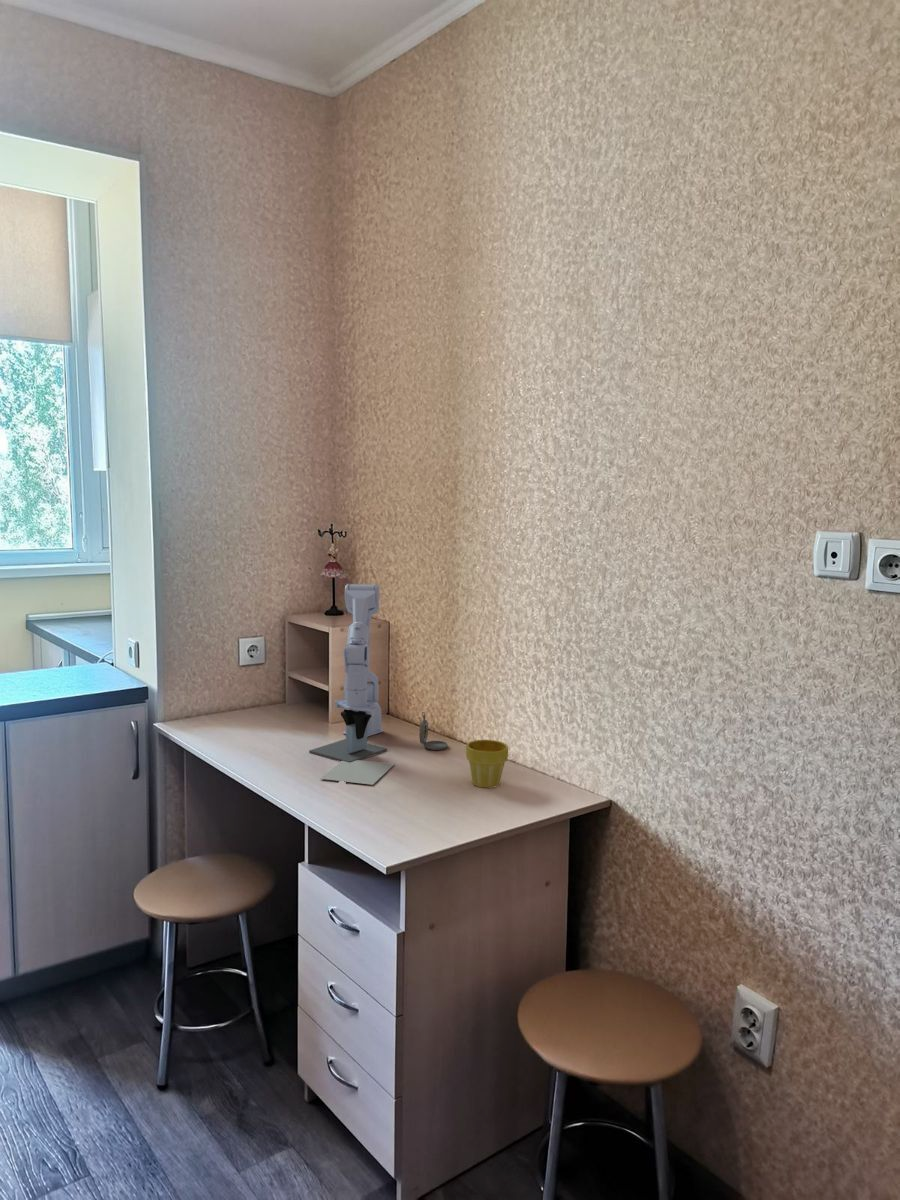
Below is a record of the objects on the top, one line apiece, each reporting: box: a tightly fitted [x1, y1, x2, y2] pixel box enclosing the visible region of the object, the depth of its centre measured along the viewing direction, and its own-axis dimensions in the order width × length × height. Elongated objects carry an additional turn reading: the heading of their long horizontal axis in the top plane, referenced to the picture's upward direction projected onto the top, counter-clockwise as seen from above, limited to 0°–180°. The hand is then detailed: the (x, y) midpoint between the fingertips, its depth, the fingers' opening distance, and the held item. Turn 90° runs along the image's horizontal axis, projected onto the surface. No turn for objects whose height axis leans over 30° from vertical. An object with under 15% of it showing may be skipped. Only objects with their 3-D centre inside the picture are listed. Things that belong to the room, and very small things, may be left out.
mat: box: [308, 738, 388, 762], centre depth 237 cm, size 15×15×1 cm
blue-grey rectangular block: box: [345, 724, 368, 753], centre depth 235 cm, size 6×2×7 cm, turn 143°
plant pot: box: [465, 739, 509, 788], centre depth 213 cm, size 10×10×10 cm
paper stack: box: [319, 759, 395, 786], centre depth 215 cm, size 23×25×1 cm
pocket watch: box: [418, 711, 448, 751], centre depth 242 cm, size 8×8×10 cm
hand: (356, 737), depth 235 cm, fingers closed on blue-grey rectangular block, 2 cm apart
